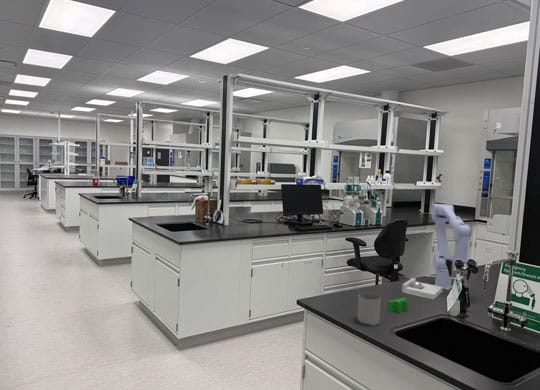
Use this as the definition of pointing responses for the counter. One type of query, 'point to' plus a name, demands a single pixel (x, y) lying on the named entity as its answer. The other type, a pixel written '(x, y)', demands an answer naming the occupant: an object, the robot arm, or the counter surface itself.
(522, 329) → the counter surface
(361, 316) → the cup
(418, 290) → the deck
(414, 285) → the ball
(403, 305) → the pipe clamp
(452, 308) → the valve
